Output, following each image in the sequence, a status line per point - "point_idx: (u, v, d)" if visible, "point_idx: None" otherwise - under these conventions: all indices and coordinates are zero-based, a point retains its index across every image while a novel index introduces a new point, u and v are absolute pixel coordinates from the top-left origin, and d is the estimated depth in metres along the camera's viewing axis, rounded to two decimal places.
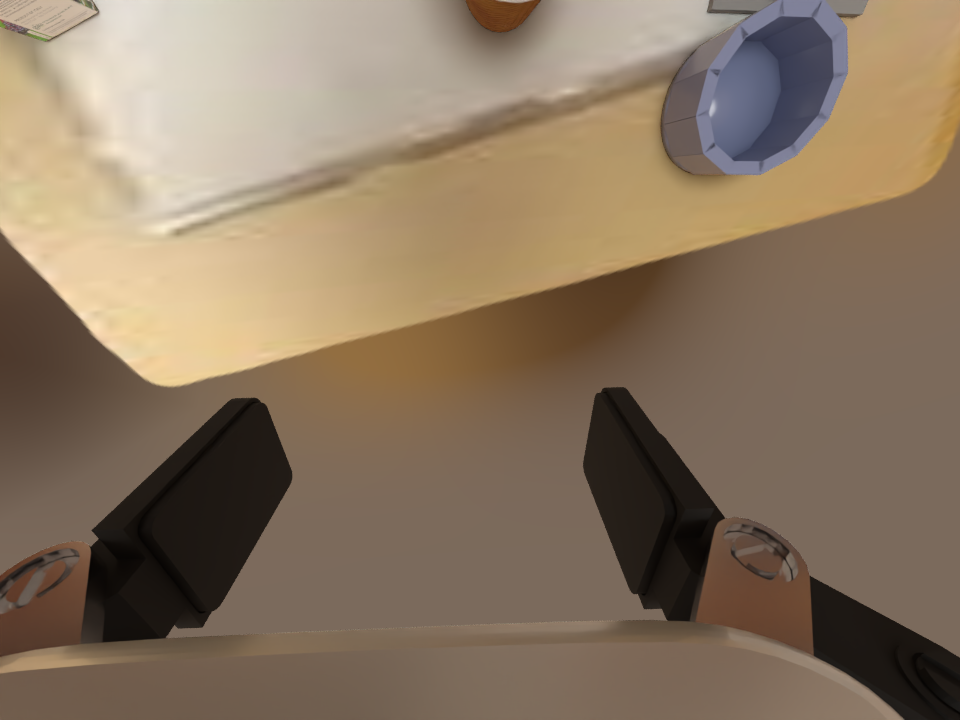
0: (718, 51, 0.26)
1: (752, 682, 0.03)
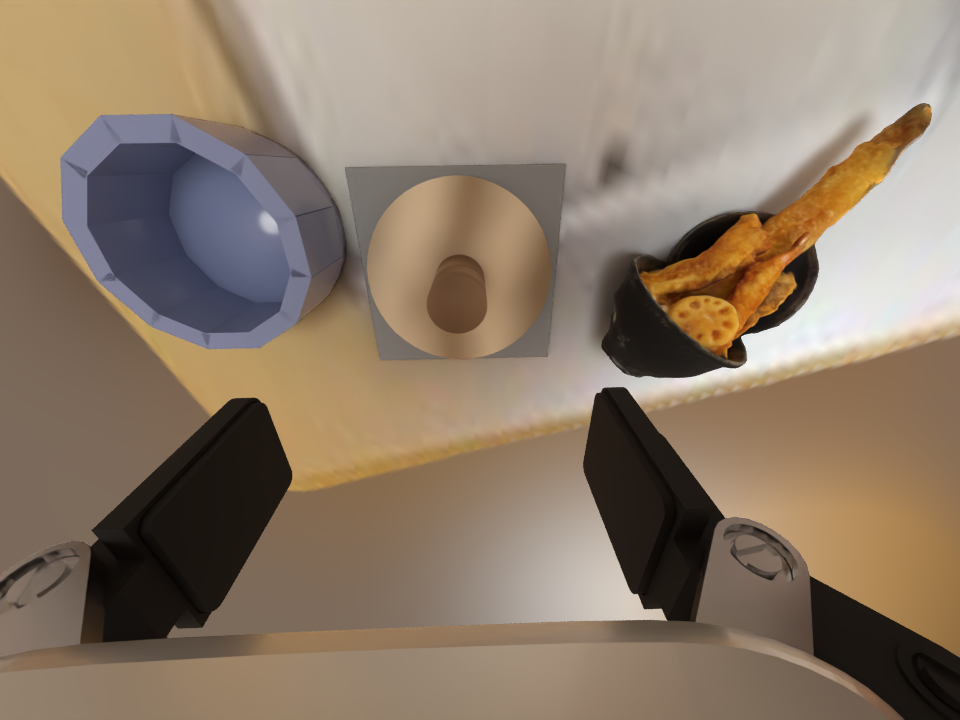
0: (210, 133, 0.15)
1: (752, 682, 0.03)
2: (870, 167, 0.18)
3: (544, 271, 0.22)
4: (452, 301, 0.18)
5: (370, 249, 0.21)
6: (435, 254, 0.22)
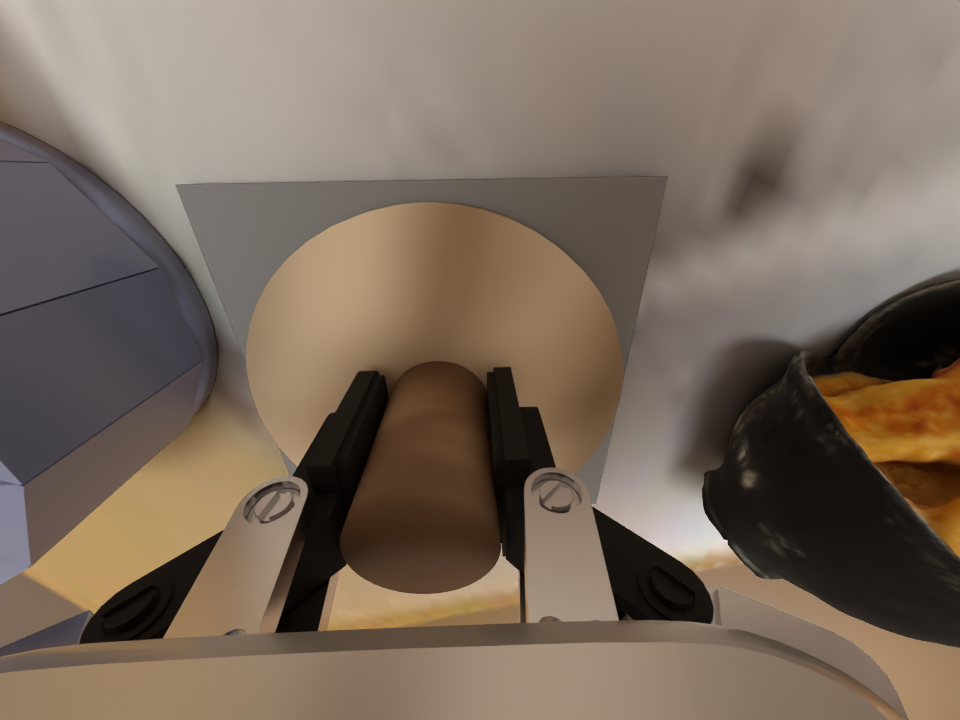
0: None
1: (752, 682, 0.03)
2: None
3: (608, 386, 0.11)
4: (408, 541, 0.07)
5: (250, 354, 0.10)
6: (388, 361, 0.10)
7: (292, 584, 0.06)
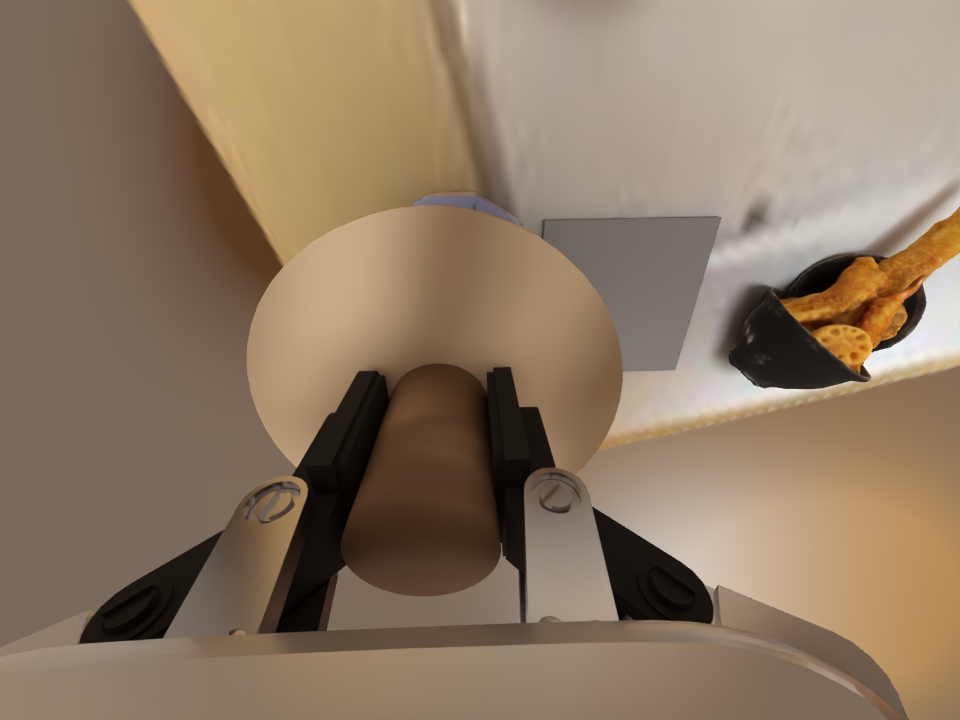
0: (495, 207, 0.20)
1: (752, 682, 0.03)
2: None
3: (608, 388, 0.11)
4: (409, 544, 0.07)
5: (251, 356, 0.10)
6: (388, 364, 0.10)
7: (292, 584, 0.06)
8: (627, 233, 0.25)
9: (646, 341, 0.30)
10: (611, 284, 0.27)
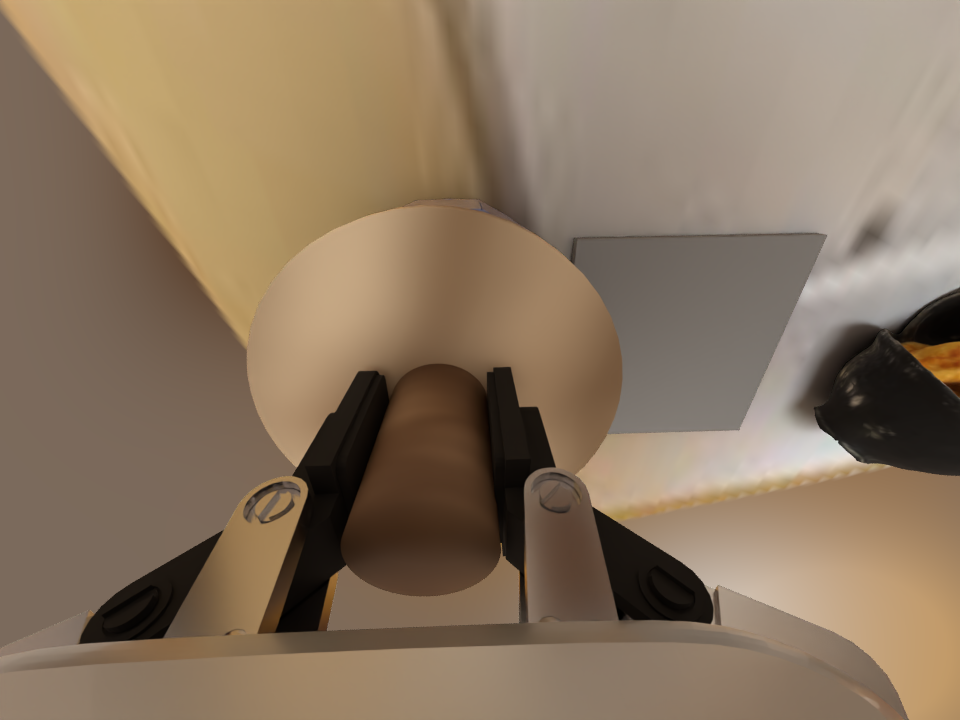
0: None
1: (752, 682, 0.03)
2: None
3: (608, 388, 0.11)
4: (409, 544, 0.07)
5: (251, 357, 0.10)
6: (388, 364, 0.10)
7: (292, 584, 0.06)
8: (692, 257, 0.18)
9: (704, 396, 0.22)
10: (665, 325, 0.20)
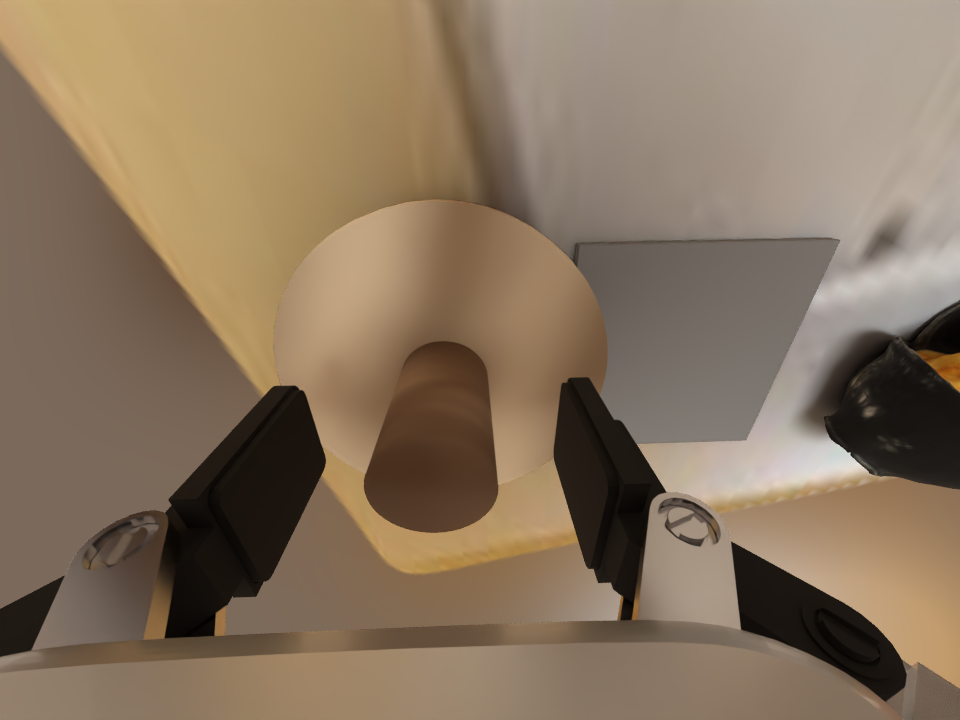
0: None
1: (752, 682, 0.03)
2: None
3: (595, 364, 0.12)
4: (422, 482, 0.08)
5: (277, 334, 0.11)
6: (399, 341, 0.12)
7: (169, 622, 0.06)
8: (700, 263, 0.17)
9: (711, 406, 0.22)
10: (670, 333, 0.19)
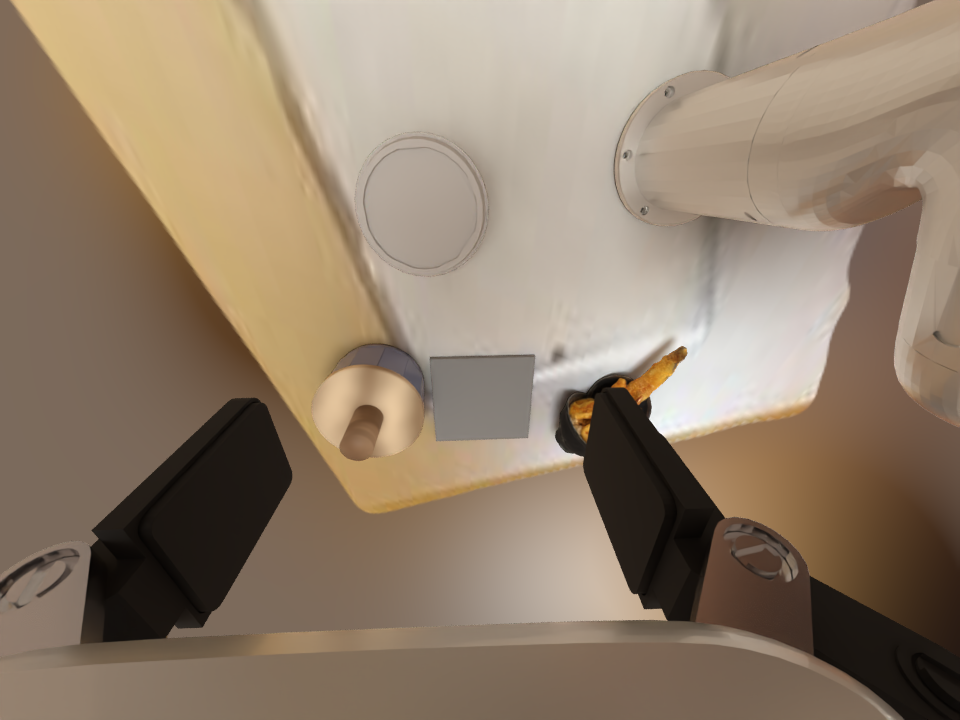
0: None
1: (752, 682, 0.03)
2: (666, 369, 0.40)
3: (419, 411, 0.37)
4: (353, 446, 0.33)
5: (313, 403, 0.36)
6: (352, 405, 0.36)
7: None
8: (480, 365, 0.42)
9: (505, 422, 0.47)
10: (476, 391, 0.44)
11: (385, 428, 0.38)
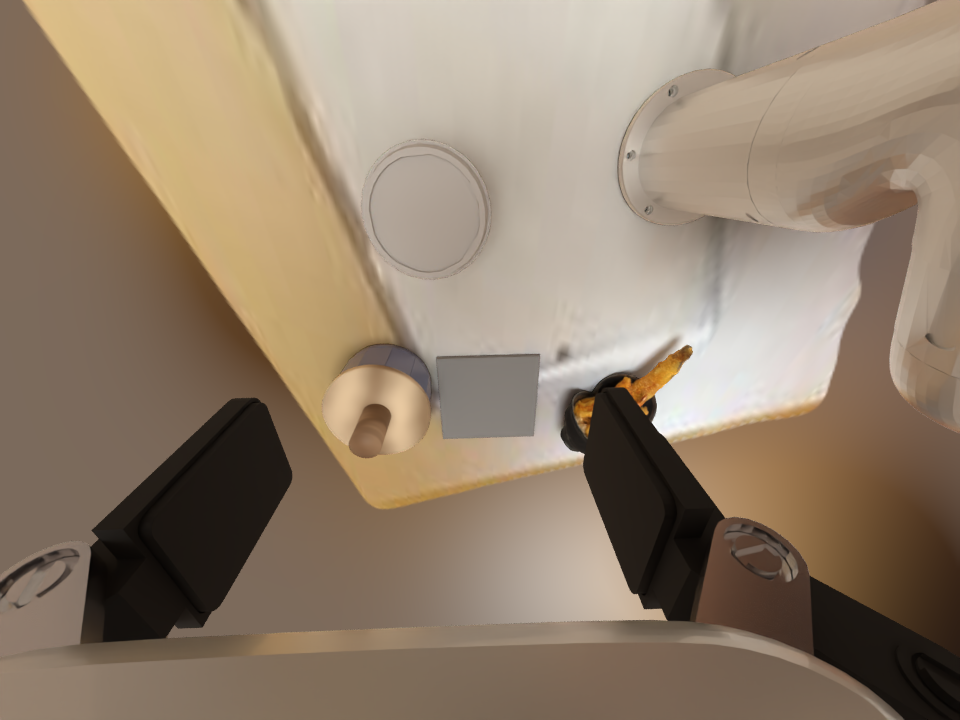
0: None
1: (752, 682, 0.03)
2: (671, 368, 0.40)
3: (425, 410, 0.38)
4: (362, 444, 0.34)
5: (323, 402, 0.37)
6: (361, 403, 0.38)
7: None
8: (486, 364, 0.43)
9: (511, 420, 0.47)
10: (482, 390, 0.45)
11: (393, 426, 0.39)
